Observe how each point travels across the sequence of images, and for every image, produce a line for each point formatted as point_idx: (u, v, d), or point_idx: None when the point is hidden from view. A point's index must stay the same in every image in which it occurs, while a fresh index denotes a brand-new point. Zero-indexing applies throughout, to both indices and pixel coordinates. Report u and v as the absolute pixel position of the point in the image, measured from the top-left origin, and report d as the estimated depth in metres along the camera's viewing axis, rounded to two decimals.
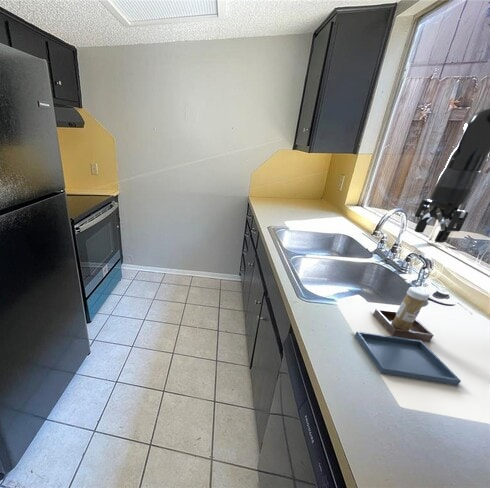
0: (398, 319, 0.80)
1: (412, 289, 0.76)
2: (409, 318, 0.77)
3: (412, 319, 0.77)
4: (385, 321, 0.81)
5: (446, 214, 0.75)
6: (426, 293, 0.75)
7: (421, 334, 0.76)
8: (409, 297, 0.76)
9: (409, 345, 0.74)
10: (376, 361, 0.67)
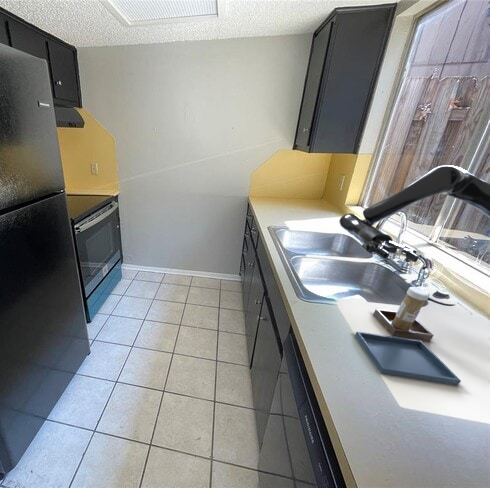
0: (398, 319, 0.80)
1: (412, 289, 0.76)
2: (409, 318, 0.77)
3: (412, 319, 0.77)
4: (385, 321, 0.81)
5: None
6: (426, 293, 0.75)
7: (421, 334, 0.76)
8: (409, 297, 0.76)
9: (409, 345, 0.74)
10: (376, 361, 0.67)
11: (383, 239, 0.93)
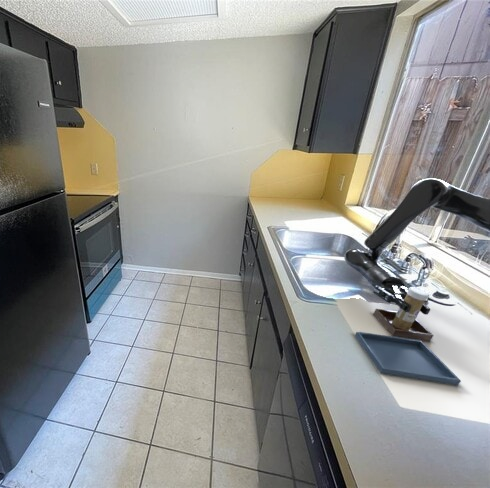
0: (398, 319, 0.80)
1: (412, 289, 0.76)
2: (409, 318, 0.77)
3: (412, 319, 0.77)
4: (385, 321, 0.81)
5: None
6: (426, 293, 0.75)
7: (421, 334, 0.76)
8: (409, 297, 0.76)
9: (409, 345, 0.74)
10: (376, 361, 0.67)
11: (394, 283, 0.86)
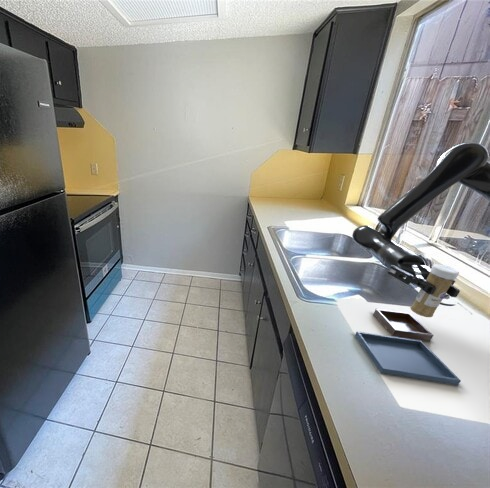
0: (418, 304, 0.66)
1: (437, 266, 0.63)
2: (433, 301, 0.64)
3: (437, 303, 0.64)
4: (385, 321, 0.81)
5: None
6: (455, 271, 0.61)
7: (421, 334, 0.76)
8: (433, 276, 0.63)
9: (409, 345, 0.74)
10: (376, 361, 0.67)
11: (413, 262, 0.72)
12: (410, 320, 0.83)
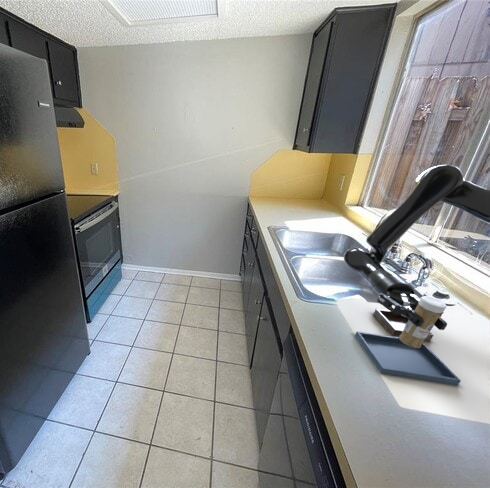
0: (406, 334, 0.66)
1: (425, 299, 0.63)
2: (421, 333, 0.64)
3: (424, 335, 0.64)
4: (385, 321, 0.81)
5: None
6: (442, 304, 0.61)
7: None
8: (421, 308, 0.63)
9: None
10: (376, 361, 0.67)
11: (402, 290, 0.72)
12: None
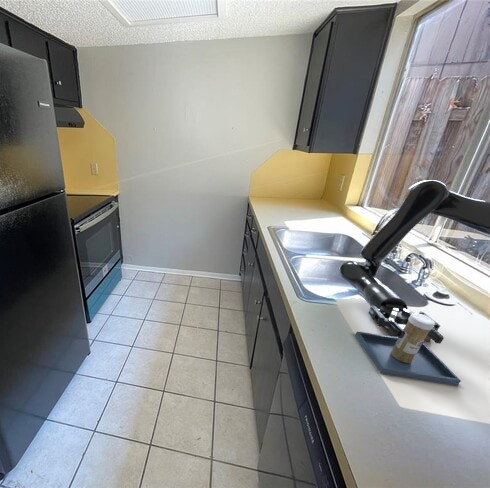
0: (398, 350, 0.69)
1: (414, 316, 0.65)
2: (411, 349, 0.66)
3: (415, 350, 0.66)
4: None
5: (385, 317, 0.73)
6: (431, 321, 0.63)
7: None
8: (411, 325, 0.65)
9: None
10: (376, 361, 0.67)
11: (395, 304, 0.74)
12: None
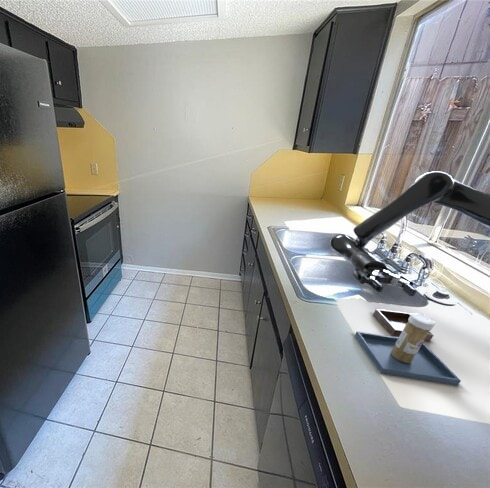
0: (398, 350, 0.69)
1: (414, 316, 0.65)
2: (411, 349, 0.66)
3: (415, 350, 0.66)
4: (385, 321, 0.81)
5: (367, 278, 0.82)
6: (431, 321, 0.63)
7: None
8: (411, 325, 0.65)
9: None
10: (376, 361, 0.67)
11: (377, 267, 0.83)
12: None
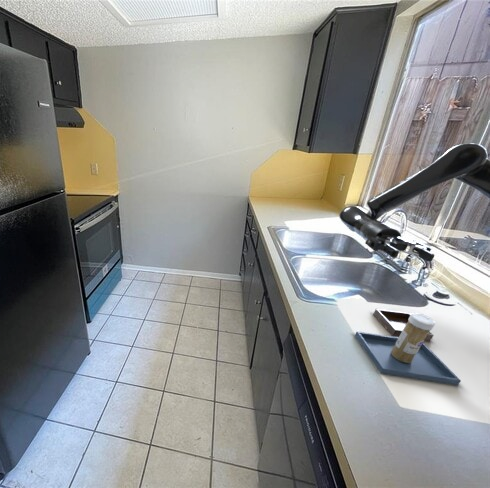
0: (398, 350, 0.69)
1: (414, 316, 0.65)
2: (411, 349, 0.66)
3: (415, 350, 0.66)
4: (385, 321, 0.81)
5: None
6: (431, 321, 0.63)
7: None
8: (411, 325, 0.65)
9: None
10: (376, 361, 0.67)
11: (390, 235, 0.79)
12: None
